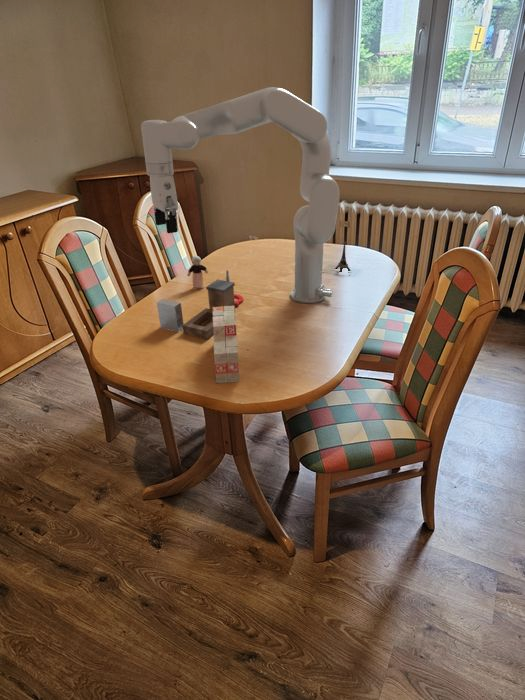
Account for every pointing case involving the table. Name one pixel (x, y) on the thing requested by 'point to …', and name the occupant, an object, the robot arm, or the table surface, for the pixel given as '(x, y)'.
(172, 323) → the tall grey box
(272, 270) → the table surface
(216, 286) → the post socket
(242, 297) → the tow hook
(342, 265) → the eiffel tower figurine
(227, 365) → the stack of blocks
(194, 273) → the grandmother figurine
